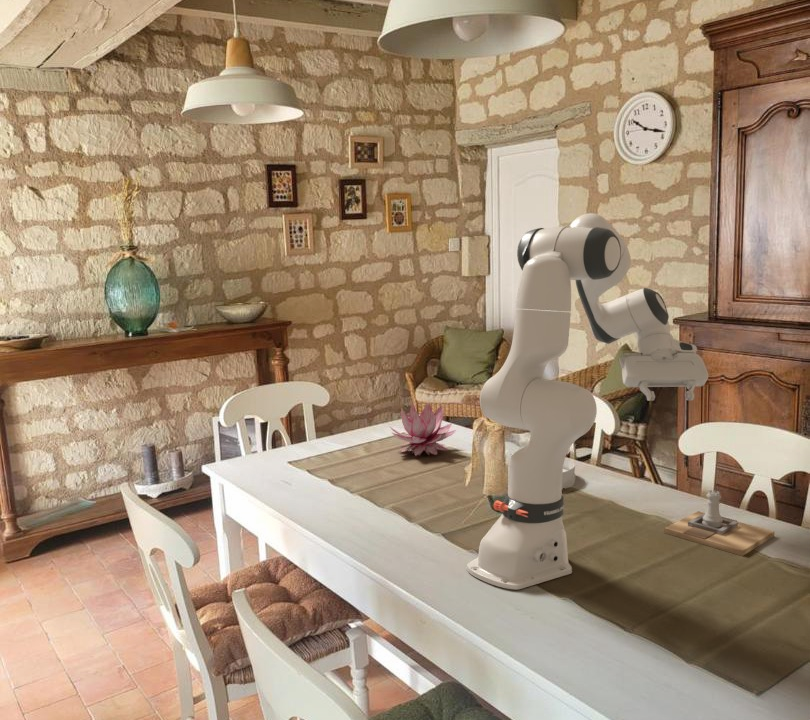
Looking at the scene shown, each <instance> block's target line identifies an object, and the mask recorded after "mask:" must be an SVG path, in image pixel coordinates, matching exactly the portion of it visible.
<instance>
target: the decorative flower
mask: <svg viewBox="0 0 810 720" xmlns="http://www.w3.org/2000/svg"><path fill="white" fill-rule="evenodd" d="M426 404H427V405H425V406H424V408H423V410H422V412H421V413H420V414H419V413H418V412H417V410H416V407H415V405H414V402H413V403H411V406H410V408H409V415H407V414H406V412H405V411H404V409H403V406H402V405H401V413H400V414H401V415H400V416H401V421H402V426H403V428H404V430H405V431H406V433H407V434H408V435H409V436H408V435H406V434H403V433H401V432H399V431H397V430H396V429H394V428H393V427H391V426H390V425H389V428H390V429H391V430H392V432H391V433H392V435H393V436H394V437H396V438H397V439H399V440H400V441H401V440H402V441H404V442H405V441H406V442H408V443H409V444H407V445H406V444H405V445H402V446H398V448H405V449H403V450H400V451H399V453H406V452H408V451H410V452H411V451H412V452H411V453H410V455H412V454H413V453H414V455H415V456H421V455H422V453H423V452H425V453H426V455H428V456H430V454H431V455H436V456H437V455H438V451H440V450H441V451H449V449H448V448H446V447H445V445H446V444H444V443H440V441H443V440H445V439H447V438H448V437H451V436H452V435H453V434H455V432H457V429H455V430H451V431H450V429H451V428H452V425H453V424H452V423H449V424H447V425H444V426H442V424H443V423H442V422H443V420H444V419H443V418H444V412H445V411H444V406H443V405H442V404H441V405H440V406H439V408H437V410H436V411H435V412H434V411H433V409H432V406H431V403H430V402H428V403H426Z"/></svg>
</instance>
